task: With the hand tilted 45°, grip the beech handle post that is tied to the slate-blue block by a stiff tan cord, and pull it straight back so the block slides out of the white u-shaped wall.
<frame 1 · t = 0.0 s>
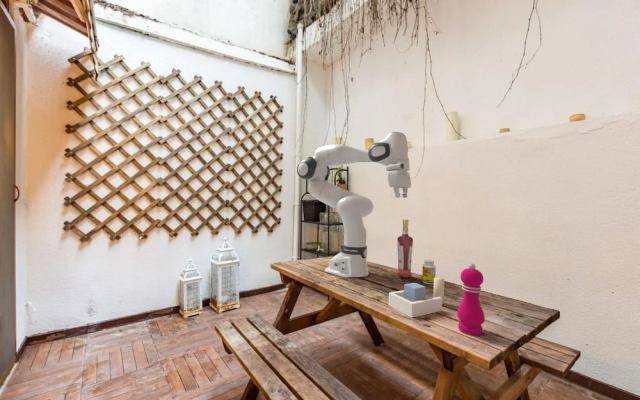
hand: (401, 197, 129), 39 cm above the table, tool pointing down, fingers open, 8 cm apart
white u-shaped wall: (414, 308, 100), on the table
liquor: (404, 277, 139), on the table
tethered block: (414, 308, 100), on the table
pepper mill: (470, 331, 84), on the table
supplement bottle: (428, 283, 130), on the table
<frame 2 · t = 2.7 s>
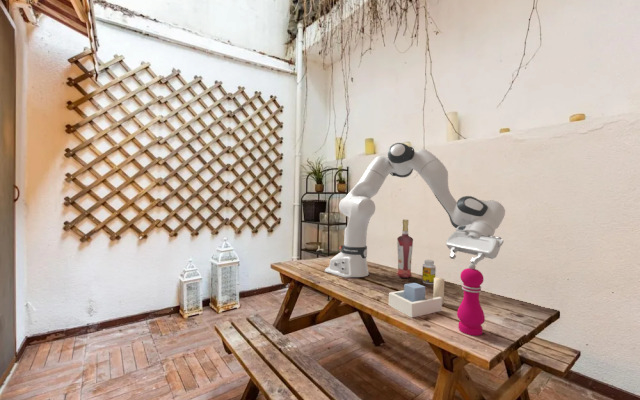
hand: (461, 260, 111), 15 cm above the table, tool tilted 45°, fingers open, 8 cm apart
nothing on the table moved.
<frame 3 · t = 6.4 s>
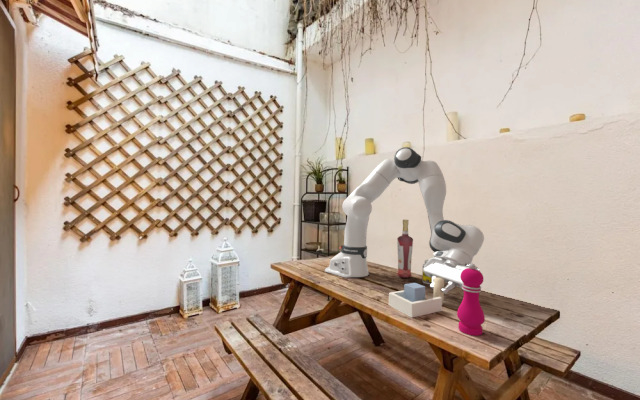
hand: (437, 290, 105), 5 cm above the table, tool tilted 45°, fingers closed on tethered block, 4 cm apart
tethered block: (414, 308, 100), on the table, touching gripper
everything else where it was.
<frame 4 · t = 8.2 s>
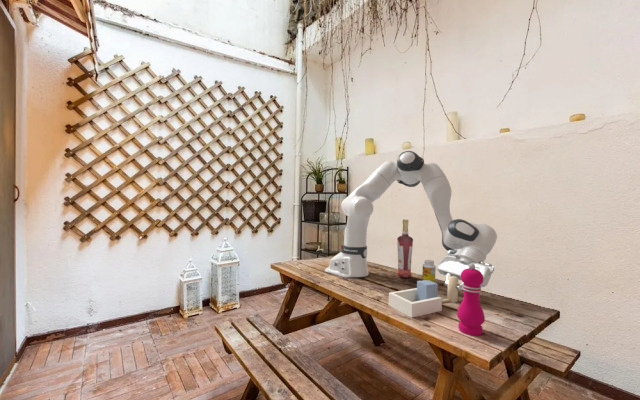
hand: (452, 287, 108), 5 cm above the table, tool tilted 45°, fingers closed on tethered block, 4 cm apart
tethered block: (426, 304, 104), on the table, touching gripper
everything else where it was.
when the fingers open (5 cm above the table, at t = 10.0 s): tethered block stays where it is, on the table.
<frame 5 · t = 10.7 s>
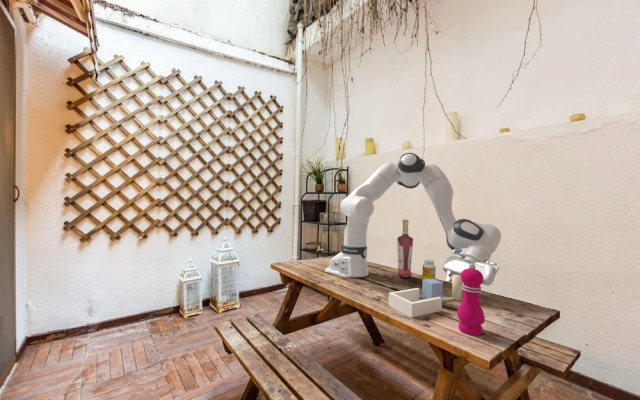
hand: (457, 285, 110), 5 cm above the table, tool tilted 45°, fingers open, 8 cm apart
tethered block: (431, 302, 106), on the table
everything else where it was.
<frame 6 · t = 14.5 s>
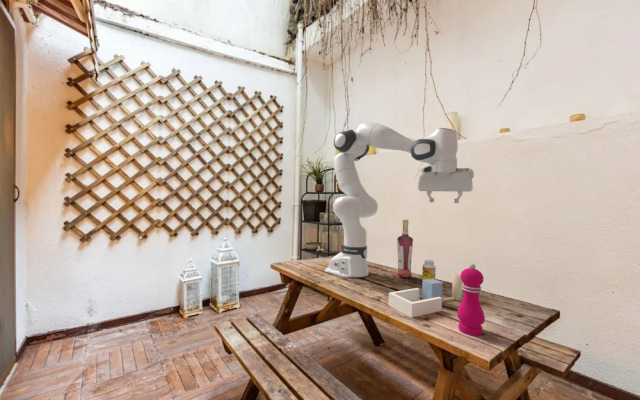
hand: (443, 202, 115), 37 cm above the table, tool pointing down, fingers open, 8 cm apart
nothing on the table moved.
at the end: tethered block moved 10.2 cm from its start; the gripper is holding nothing; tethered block tilted 0° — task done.
